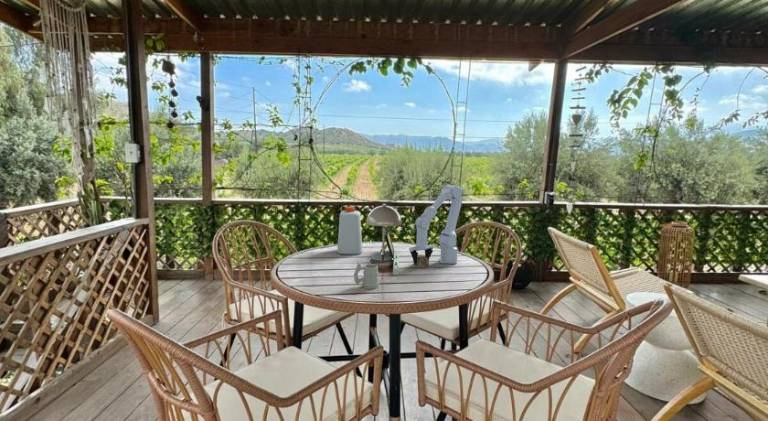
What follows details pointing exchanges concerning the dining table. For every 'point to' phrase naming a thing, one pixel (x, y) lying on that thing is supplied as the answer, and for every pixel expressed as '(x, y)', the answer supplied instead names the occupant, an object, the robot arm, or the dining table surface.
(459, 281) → the dining table surface
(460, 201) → the robot arm
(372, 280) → the mug
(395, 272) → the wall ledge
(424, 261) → the frame block
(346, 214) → the plastic bottle
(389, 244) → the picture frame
